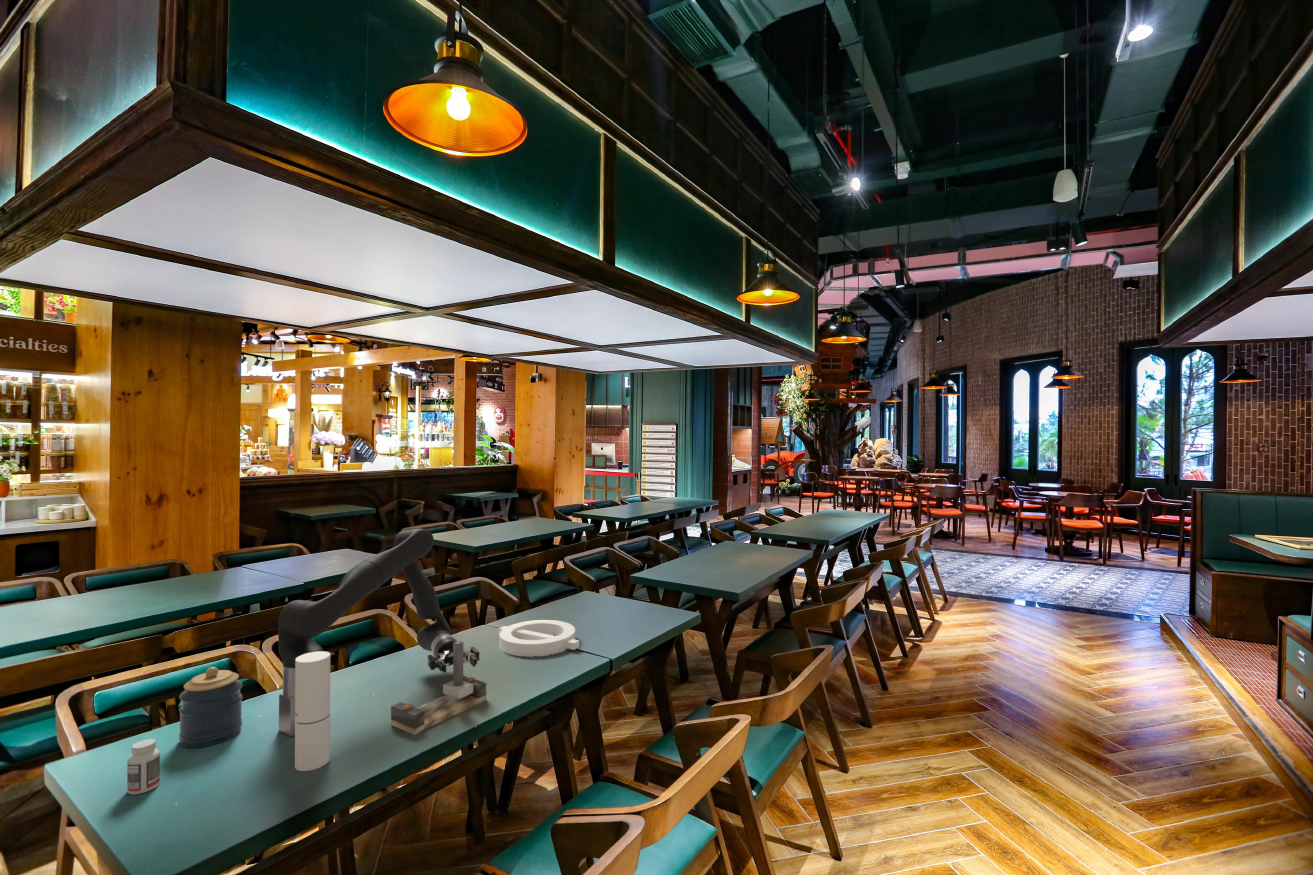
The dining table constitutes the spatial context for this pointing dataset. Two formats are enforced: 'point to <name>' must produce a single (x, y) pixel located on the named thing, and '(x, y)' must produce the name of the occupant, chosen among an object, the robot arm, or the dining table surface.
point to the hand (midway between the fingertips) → (460, 665)
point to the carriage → (458, 675)
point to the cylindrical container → (312, 710)
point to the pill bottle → (143, 767)
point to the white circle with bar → (537, 638)
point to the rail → (442, 713)
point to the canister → (210, 708)
